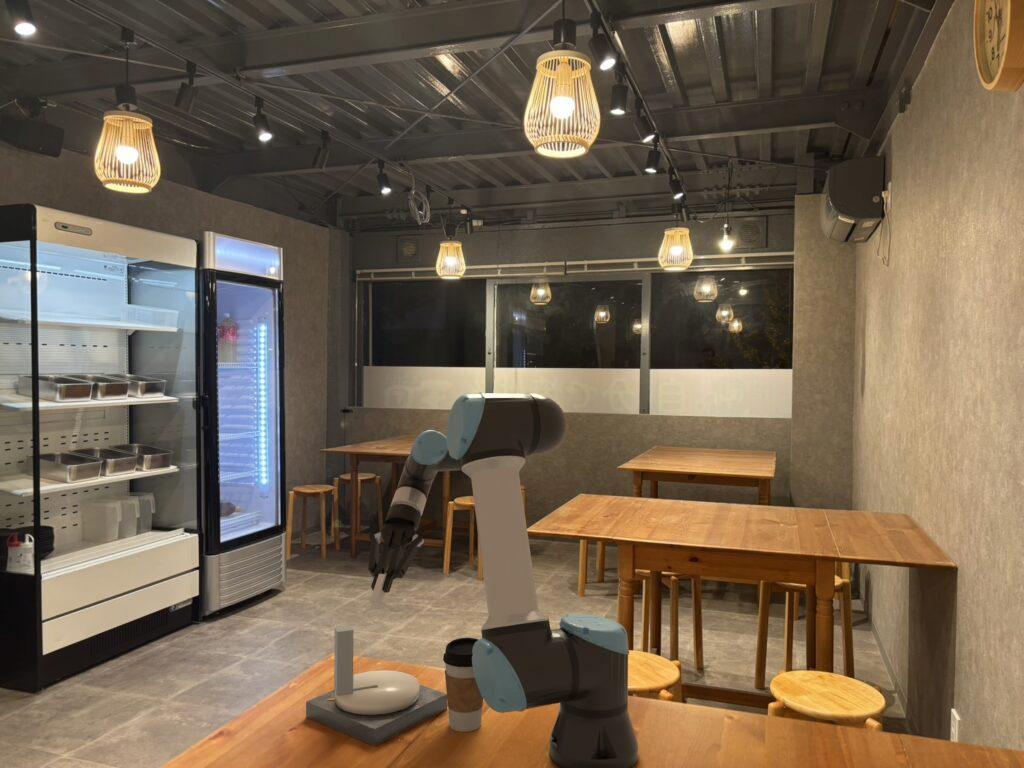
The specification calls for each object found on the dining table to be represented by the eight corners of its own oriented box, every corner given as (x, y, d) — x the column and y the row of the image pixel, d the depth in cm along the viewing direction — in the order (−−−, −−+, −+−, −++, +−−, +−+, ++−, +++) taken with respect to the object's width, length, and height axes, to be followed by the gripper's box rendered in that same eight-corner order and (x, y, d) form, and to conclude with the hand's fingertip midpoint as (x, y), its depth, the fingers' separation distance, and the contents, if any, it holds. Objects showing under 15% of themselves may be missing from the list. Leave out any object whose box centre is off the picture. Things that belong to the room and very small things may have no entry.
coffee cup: (490, 715, 146) (490, 638, 146) (484, 736, 138) (484, 653, 138) (447, 713, 147) (447, 636, 147) (438, 733, 139) (438, 651, 139)
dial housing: (447, 709, 149) (447, 693, 149) (374, 746, 134) (374, 728, 134) (379, 685, 161) (379, 670, 160) (306, 717, 145) (306, 700, 145)
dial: (406, 675, 158) (407, 608, 158) (429, 706, 143) (429, 631, 143) (328, 687, 151) (328, 617, 151) (343, 720, 137) (344, 643, 137)
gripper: (436, 522, 176) (409, 616, 159) (384, 520, 179) (352, 611, 163) (428, 503, 171) (399, 597, 154) (374, 500, 174) (340, 593, 158)
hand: (375, 604), depth 159 cm, fingers closed
